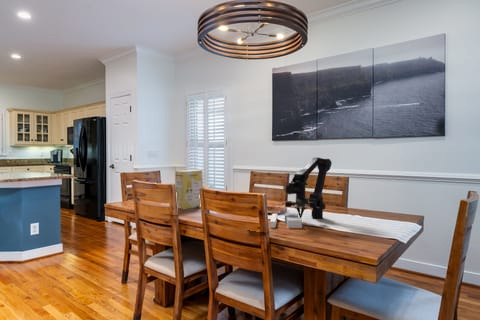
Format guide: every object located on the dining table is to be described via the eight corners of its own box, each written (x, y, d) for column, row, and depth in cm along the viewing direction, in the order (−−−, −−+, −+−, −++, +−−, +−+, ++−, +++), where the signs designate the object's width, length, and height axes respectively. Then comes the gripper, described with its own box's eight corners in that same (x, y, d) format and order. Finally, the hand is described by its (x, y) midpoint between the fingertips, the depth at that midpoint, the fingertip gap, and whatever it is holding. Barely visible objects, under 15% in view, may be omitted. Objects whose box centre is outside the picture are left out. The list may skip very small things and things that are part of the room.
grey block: (300, 224, 186) (300, 217, 186) (301, 228, 178) (301, 220, 178) (286, 224, 186) (286, 217, 186) (287, 228, 178) (287, 220, 178)
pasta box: (194, 204, 254) (193, 169, 253) (202, 206, 247) (202, 170, 246) (175, 207, 240) (175, 171, 239) (184, 209, 233) (183, 171, 232)
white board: (277, 219, 200) (277, 213, 200) (275, 227, 178) (275, 221, 178) (272, 218, 201) (272, 213, 200) (270, 227, 179) (270, 221, 179)
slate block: (298, 220, 197) (298, 213, 197) (298, 223, 189) (298, 216, 189) (285, 220, 198) (285, 213, 198) (284, 223, 190) (284, 215, 190)
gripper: (285, 194, 186) (285, 220, 187) (317, 195, 183) (317, 221, 184) (285, 192, 197) (285, 216, 198) (315, 192, 194) (315, 217, 195)
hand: (300, 218), depth 193 cm, fingers closed
